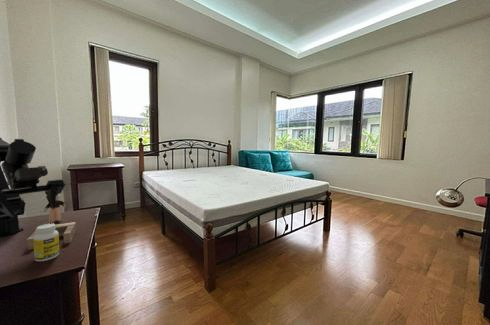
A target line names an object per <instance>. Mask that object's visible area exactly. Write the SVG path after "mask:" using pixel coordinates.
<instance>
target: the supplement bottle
mask: <svg viewBox="0 0 490 325" xmlns="http://www.w3.org/2000/svg"><path fill="white" fill-rule="evenodd" d="M55 225H56V224H55V223H51V224H49V223H44V224H41V225H38V226H36V229H37V234H36V235H35V236H34V249H33V254H34V255H33V257H34V261H36V262H45V261H49V260H52V259H55V258H57V257H58V256H59V254H60V237H59V233H58V231H56V230H55Z"/></svg>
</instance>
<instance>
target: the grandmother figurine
mask: <svg viewBox="0 0 490 325" xmlns="http://www.w3.org/2000/svg"><path fill="white" fill-rule="evenodd" d="M60 197H61V194H58V195H57V196H56V202H55V209H52V208H51V206H50V204H49V202H48V203H47V204H46V206H45V208H44V210H43V213H47V212H48V210H49V214H48V223H47V224H50V223H51V224H55V223H56V221H58V222H61V220H63V219H61V218H62V217H61V206H62V207H63V208H66V204H65V202H64V201H63V200H61V199H60ZM59 199H60V200H59ZM54 222H55V223H54Z"/></svg>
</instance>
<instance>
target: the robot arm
mask: <svg viewBox="0 0 490 325" xmlns="http://www.w3.org/2000/svg"><path fill="white" fill-rule="evenodd" d="M36 149H37V147H36V146H35V145H34V144H33V143H31V142H28V141H25V140H24V139H23V138H20V139H19V138H14V140H13V141H12V142H10V143H8V142H7V141H5V140H3V138H2V137H0V238H1V237H6V236H9V235H12V234H15V233H18V232H21V231H24V229H25V228H23V227H20V220H19V216H24V215H25V208H26V202H25V200H24V199H22V197H21V195H22V196H23V195H28V194H30V195H31V194H35V193H42V192H44V193H45V195H46V196H45V197H46V200H47V202H48V203H49V204H50V206H51V208H52V209H55V202H56V196H57V195H58V194H59V195H61V194H62V192H63V190H64V188H65V186H66V182H65V180H63V179H62V178H61V179H59V178H58V179H51V180H47V183H46V185H45V184H44V185H38V184H39V183H40V178H42V177H46V176H47V175H49V174H48V173H49V171H48V169H47V166H46V165H40V166H39V165H38V166H37V167H34V166H33V167H29V165H28V164H31V162H32V159H33V158H34V154H35V152H36Z"/></svg>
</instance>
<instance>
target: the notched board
mask: <svg viewBox="0 0 490 325" xmlns="http://www.w3.org/2000/svg"><path fill="white" fill-rule="evenodd" d="M76 224H77V223H76V221H74V222H73V221H72V222H66V223H59V224H55V230H56V231H58V233H59V238H60V237H63V244H65V245H66V244H70V243H71V242H72V240H73V238H74V236H75V234H76V232H77V225H76ZM36 234H37V228H36V229H35V231H34V232H33V233H31V235H30V236H29V237H28V238H27V239H26V243H27V250H28V251H29V250H30V251H31V250H34V236H35V235H36Z"/></svg>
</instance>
